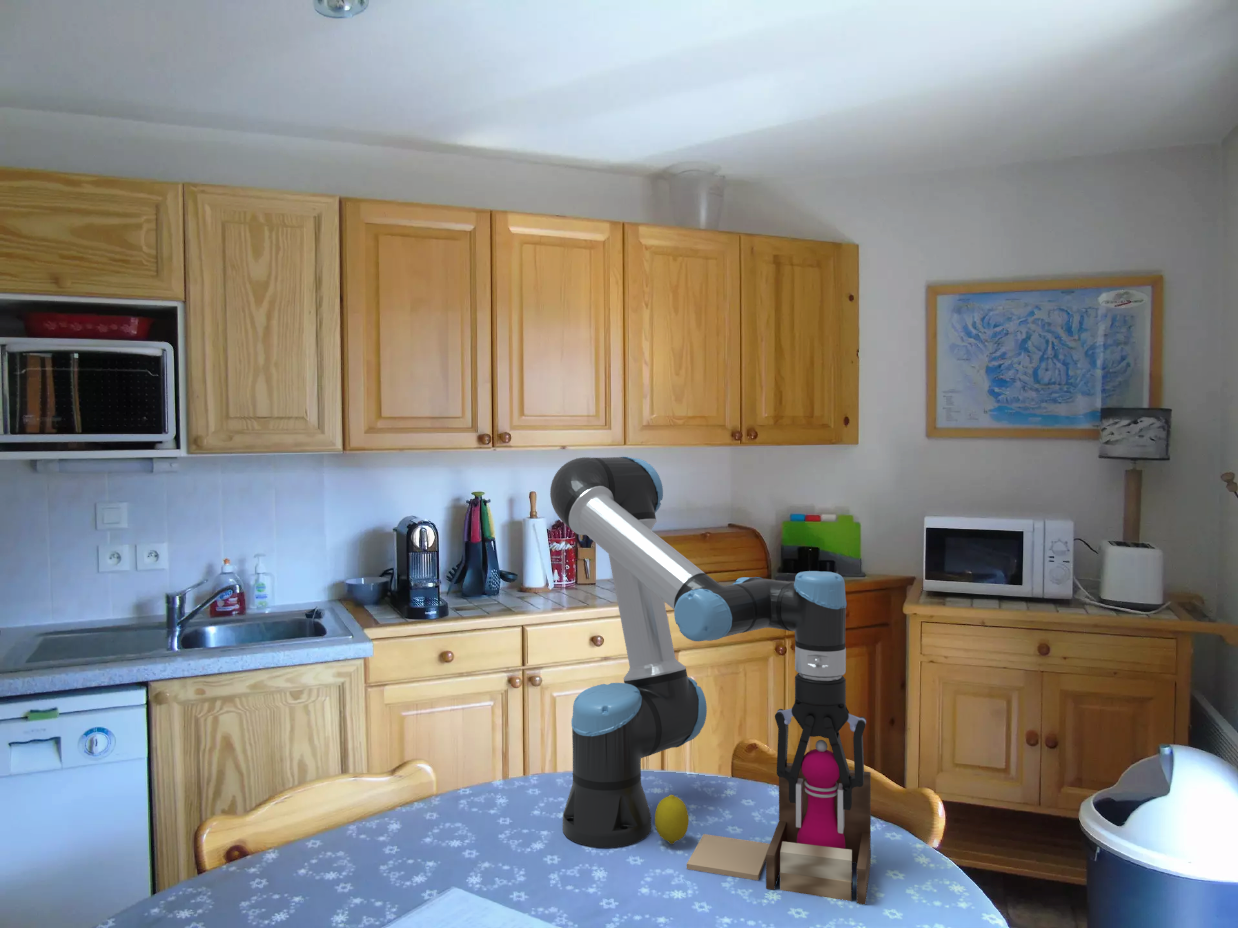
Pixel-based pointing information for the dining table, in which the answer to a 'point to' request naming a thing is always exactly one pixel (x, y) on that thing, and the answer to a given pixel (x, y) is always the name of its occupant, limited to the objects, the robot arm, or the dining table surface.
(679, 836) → the lemon
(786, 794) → the rack
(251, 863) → the dining table surface
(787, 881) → the offcut bottom
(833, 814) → the pepper mill
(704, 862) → the cork mat
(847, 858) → the offcut top
